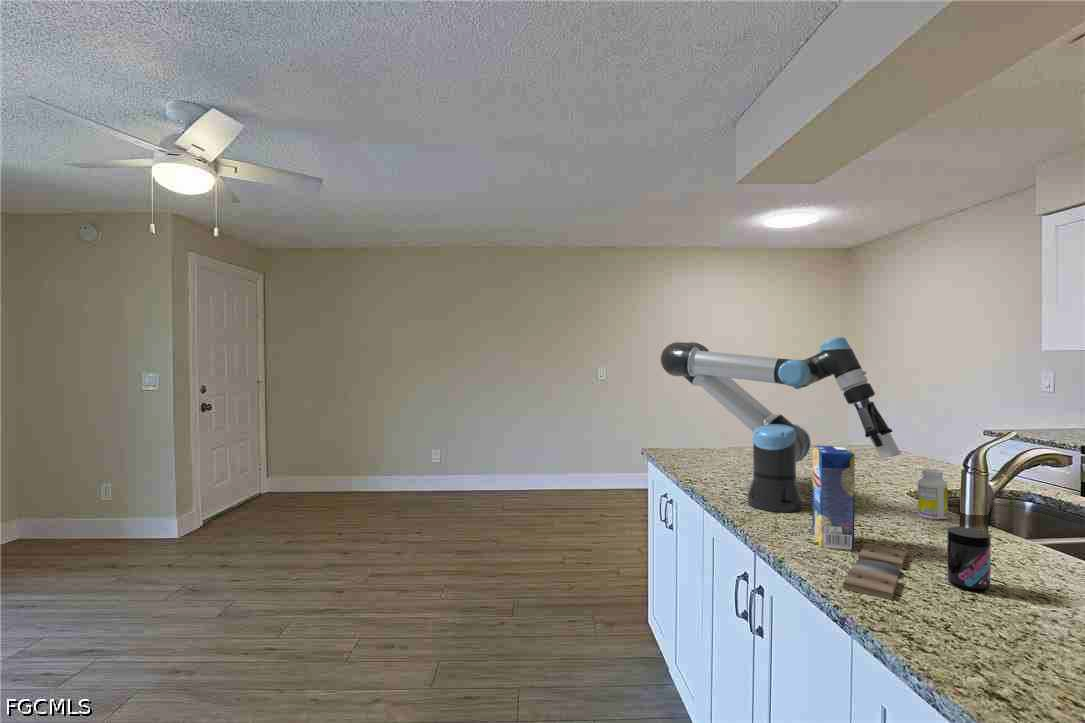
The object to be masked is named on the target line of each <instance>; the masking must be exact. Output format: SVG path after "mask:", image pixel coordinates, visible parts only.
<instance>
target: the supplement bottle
mask: <svg viewBox="0 0 1085 723" xmlns="http://www.w3.org/2000/svg"><path fill="white" fill-rule="evenodd" d="M921 470H922V472H921V475H922V476H923V477H922V478H920V479H919V480H918V481H917V497H918V498H917V505H918V506H917V512H918V513H917V514H918V515H919V517H921V518H923V517H924V519H926V518H929V519H928V520H931V519H945V520H947V519H948V517H949V516H948V514H949V513H948V511H949V510H948V504H949V503H948V502H949V501H948V483H947V482H946V481H945V480H943V476H944V471H943V470H939V469H933V468H923V469H921ZM946 518H947V519H946Z"/></svg>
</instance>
